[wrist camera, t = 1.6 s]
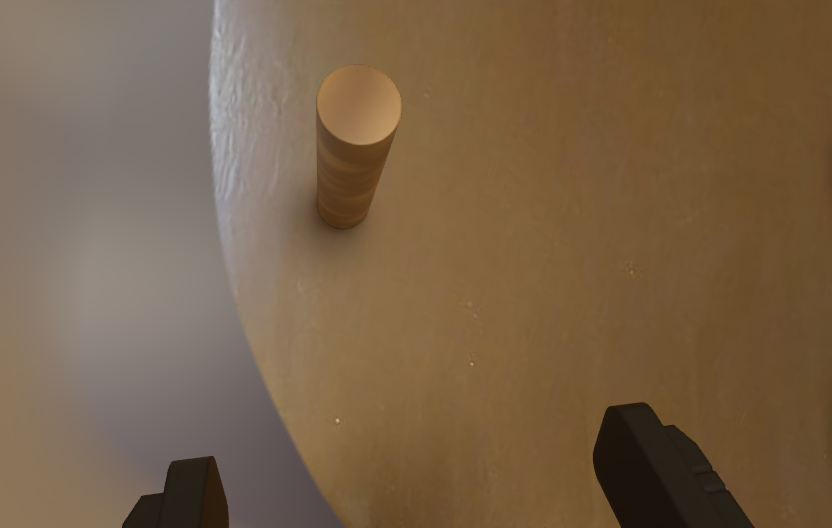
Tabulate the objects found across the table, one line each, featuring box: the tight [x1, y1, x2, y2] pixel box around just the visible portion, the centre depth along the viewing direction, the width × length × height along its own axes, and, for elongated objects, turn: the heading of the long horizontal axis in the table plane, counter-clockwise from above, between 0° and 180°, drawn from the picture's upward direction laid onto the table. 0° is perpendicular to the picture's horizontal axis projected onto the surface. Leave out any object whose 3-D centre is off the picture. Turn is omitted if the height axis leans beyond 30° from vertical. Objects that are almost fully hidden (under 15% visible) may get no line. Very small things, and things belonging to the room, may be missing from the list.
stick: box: [316, 65, 402, 229], centre depth 27 cm, size 3×3×14 cm
